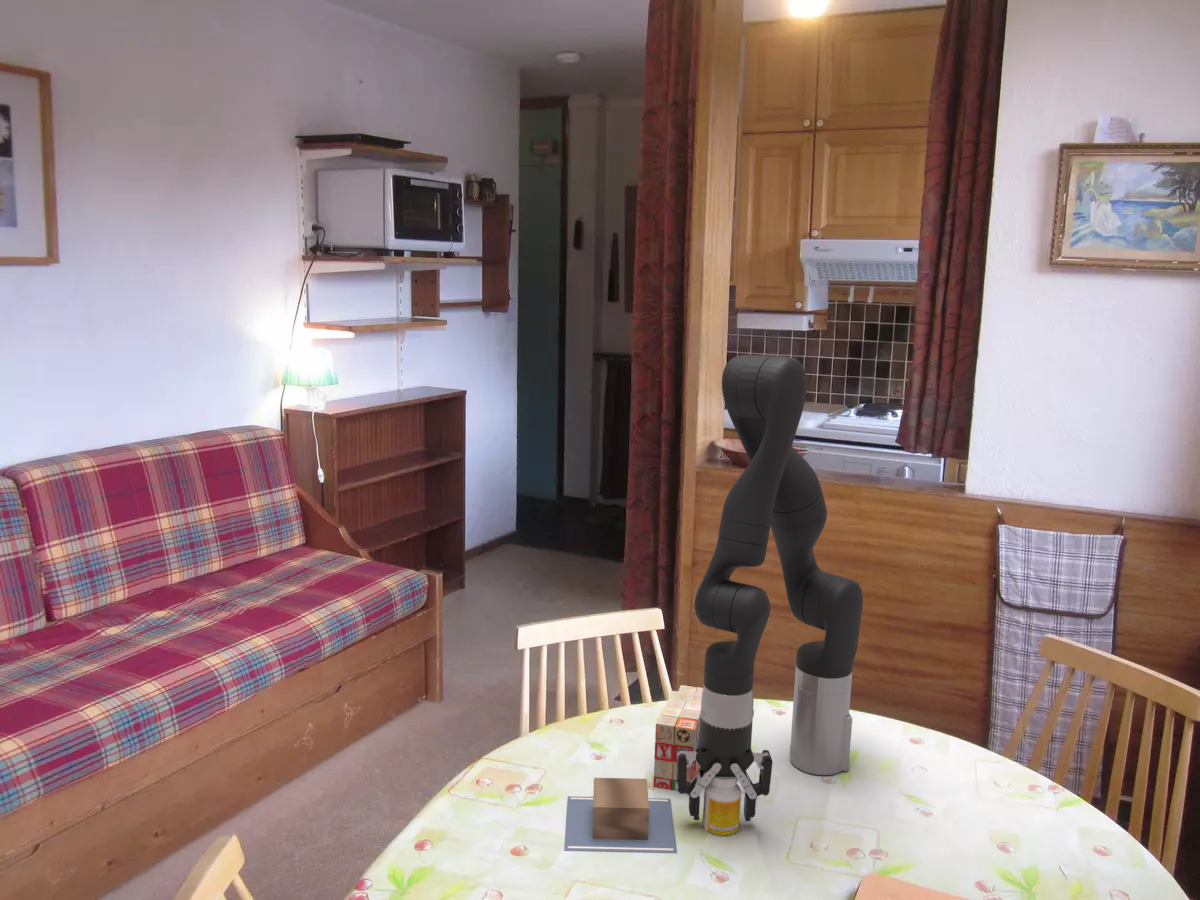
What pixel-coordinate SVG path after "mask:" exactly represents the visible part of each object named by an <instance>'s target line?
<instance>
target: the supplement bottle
mask: <svg viewBox="0 0 1200 900" xmlns="http://www.w3.org/2000/svg"><path fill="white" fill-rule="evenodd" d="M738 782H739V781H738V779H736V777H713V779H712V780H711V781H710V783H709V784H708V786H707V787H706V788H704V789H703V790H704V793H703V810H702V811H703V812H702V827H703V829H704V830H705V831H706V832H707V833H709V834H711V835H713V836H717V837H718V836H719V837H730V836H733V835H735V834H736V833H738V831H739V828H740V816H741V813H740V812H741V799H742V791H741V787H740V786H739V784H738Z"/></svg>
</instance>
